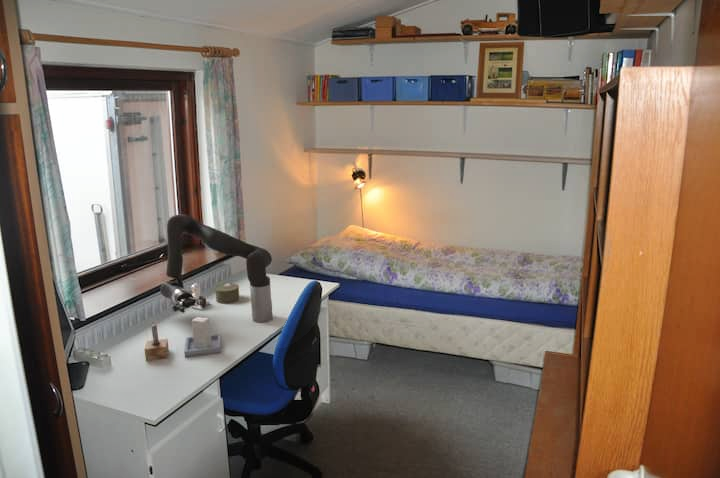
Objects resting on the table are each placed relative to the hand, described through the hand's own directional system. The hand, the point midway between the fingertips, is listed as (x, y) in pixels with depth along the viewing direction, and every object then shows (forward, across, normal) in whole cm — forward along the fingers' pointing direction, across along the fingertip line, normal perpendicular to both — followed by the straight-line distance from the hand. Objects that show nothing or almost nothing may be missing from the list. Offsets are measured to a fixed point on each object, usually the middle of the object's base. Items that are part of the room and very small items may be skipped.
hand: (193, 308), depth 242 cm
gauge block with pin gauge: (+8, -19, +13) cm, 24 cm away
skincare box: (+12, -1, +13) cm, 18 cm away
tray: (+12, -1, +14) cm, 18 cm away
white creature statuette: (-36, +12, +13) cm, 41 cm away
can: (-37, +28, +14) cm, 49 cm away
